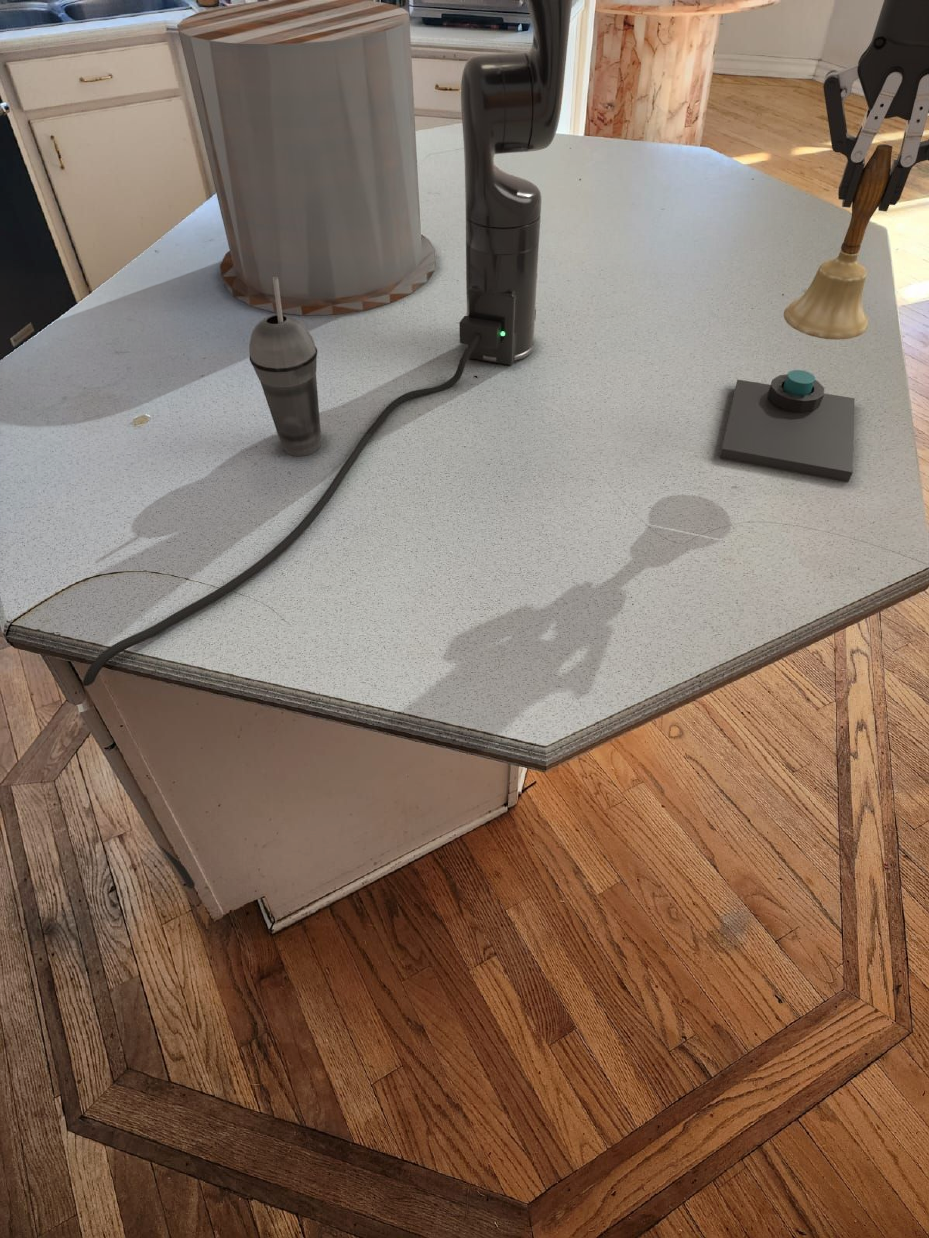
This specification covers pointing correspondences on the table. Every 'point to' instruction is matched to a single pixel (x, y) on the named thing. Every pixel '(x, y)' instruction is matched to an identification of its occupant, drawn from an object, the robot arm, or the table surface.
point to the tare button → (799, 382)
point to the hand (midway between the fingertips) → (864, 205)
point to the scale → (791, 430)
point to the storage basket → (311, 151)
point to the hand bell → (844, 266)
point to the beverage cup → (288, 378)
